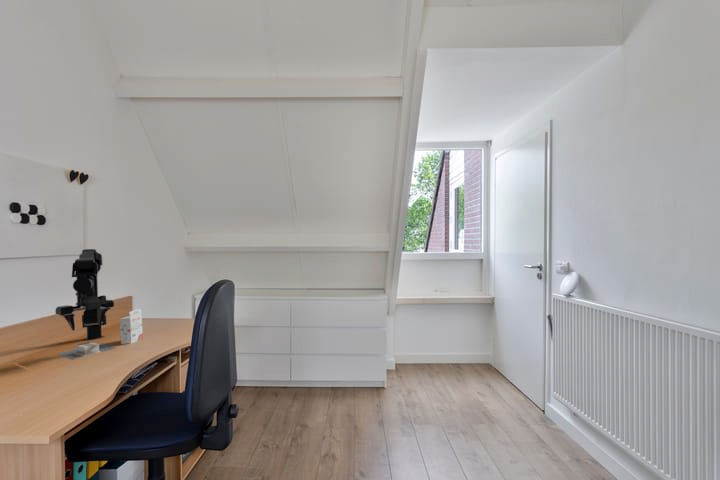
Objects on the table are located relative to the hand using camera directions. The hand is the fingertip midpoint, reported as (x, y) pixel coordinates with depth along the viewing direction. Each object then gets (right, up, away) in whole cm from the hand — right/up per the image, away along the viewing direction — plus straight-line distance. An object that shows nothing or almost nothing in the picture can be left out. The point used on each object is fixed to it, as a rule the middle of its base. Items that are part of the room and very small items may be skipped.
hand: (86, 327), depth 148 cm
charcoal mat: (-2, -11, +3) cm, 11 cm away
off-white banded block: (0, -10, 0) cm, 10 cm away
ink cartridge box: (+8, -11, +16) cm, 21 cm away
